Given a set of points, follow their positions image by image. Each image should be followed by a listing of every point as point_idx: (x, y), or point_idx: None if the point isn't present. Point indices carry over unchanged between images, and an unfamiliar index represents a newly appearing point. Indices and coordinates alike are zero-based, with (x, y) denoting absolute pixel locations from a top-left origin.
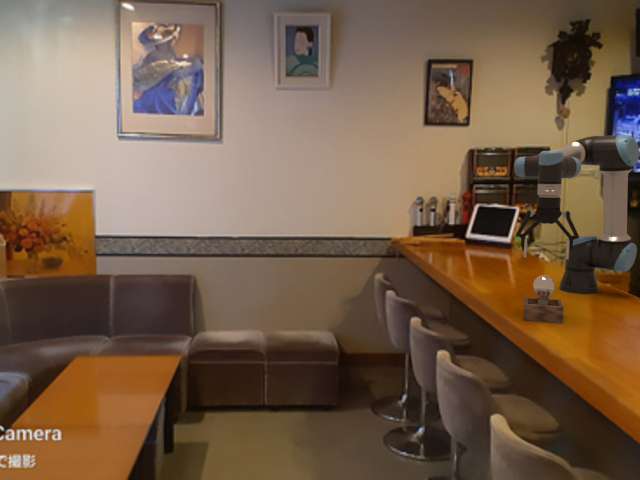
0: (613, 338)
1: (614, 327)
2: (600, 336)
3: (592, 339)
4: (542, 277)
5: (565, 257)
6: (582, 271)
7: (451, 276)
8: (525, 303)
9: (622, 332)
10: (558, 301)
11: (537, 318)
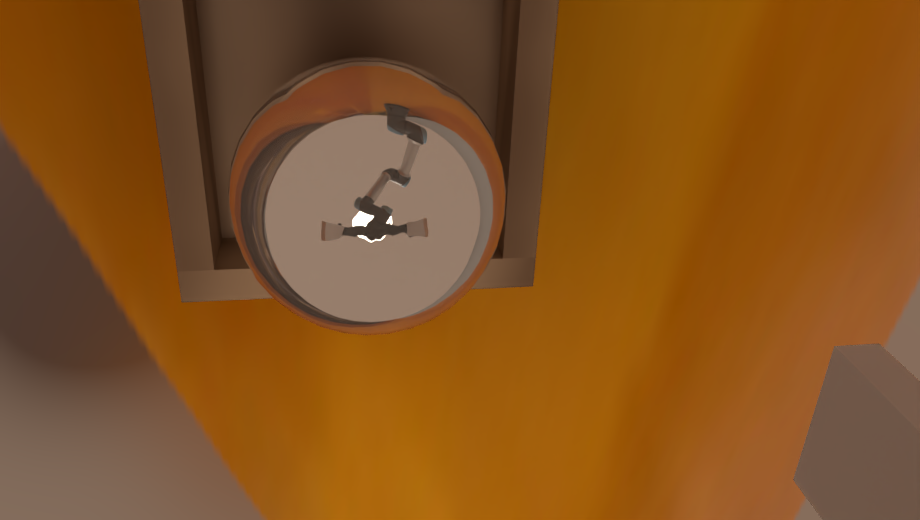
0: (739, 441)
1: (845, 202)
2: (679, 430)
3: (616, 497)
4: (348, 317)
5: (841, 359)
6: None
7: None
8: (185, 256)
9: (844, 305)
10: (524, 47)
11: None
